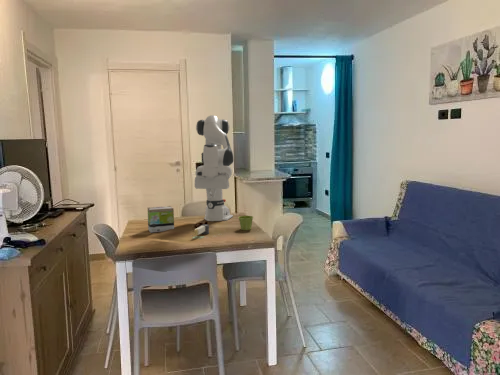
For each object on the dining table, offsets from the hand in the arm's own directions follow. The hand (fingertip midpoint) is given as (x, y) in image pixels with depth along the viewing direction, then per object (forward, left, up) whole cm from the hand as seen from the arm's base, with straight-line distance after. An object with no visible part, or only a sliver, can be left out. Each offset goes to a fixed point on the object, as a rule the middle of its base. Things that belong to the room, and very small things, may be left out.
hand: (212, 196), depth 228 cm
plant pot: (-23, +9, -24) cm, 35 cm away
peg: (+2, -7, -23) cm, 24 cm away
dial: (-3, -8, -24) cm, 26 cm away
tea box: (-4, -42, -24) cm, 49 cm away
